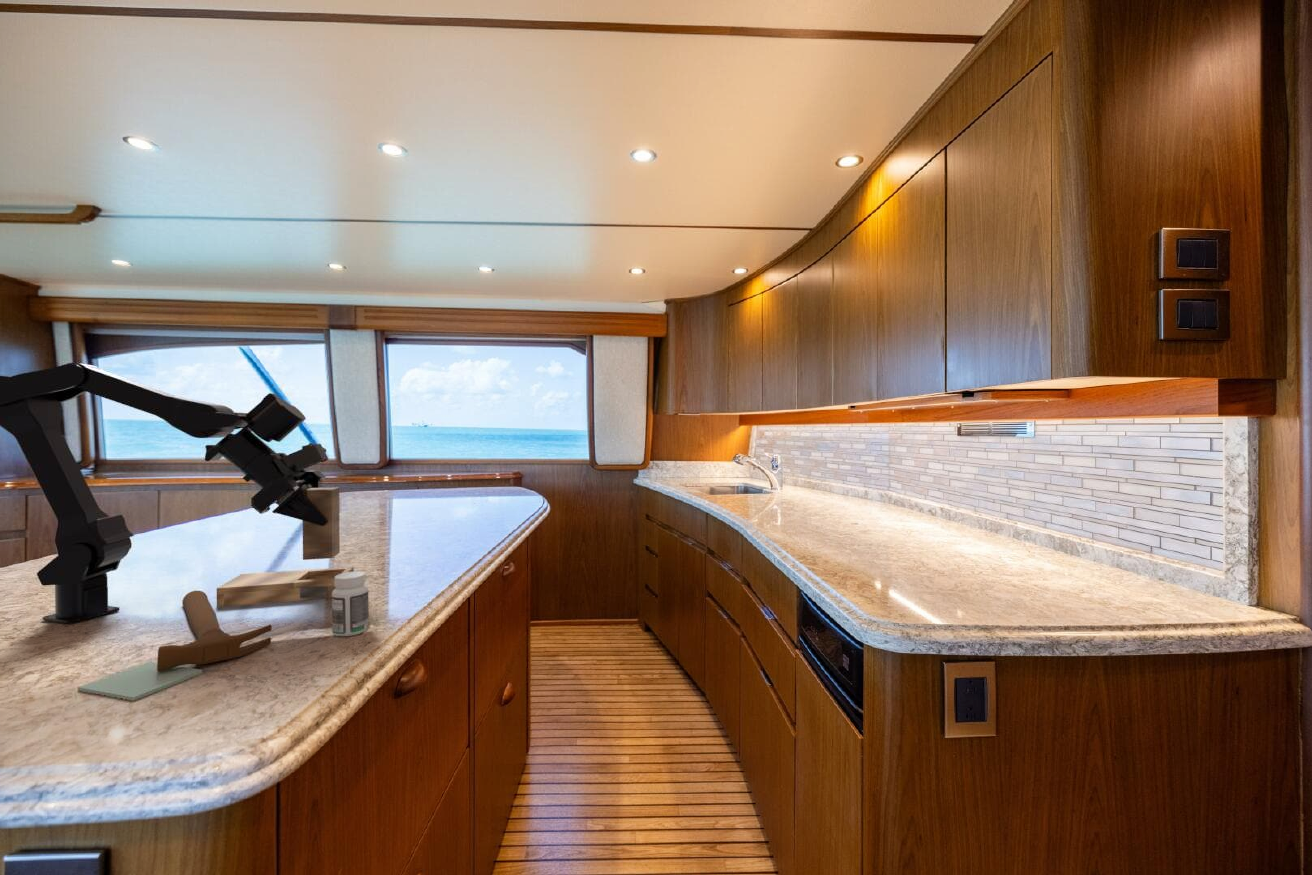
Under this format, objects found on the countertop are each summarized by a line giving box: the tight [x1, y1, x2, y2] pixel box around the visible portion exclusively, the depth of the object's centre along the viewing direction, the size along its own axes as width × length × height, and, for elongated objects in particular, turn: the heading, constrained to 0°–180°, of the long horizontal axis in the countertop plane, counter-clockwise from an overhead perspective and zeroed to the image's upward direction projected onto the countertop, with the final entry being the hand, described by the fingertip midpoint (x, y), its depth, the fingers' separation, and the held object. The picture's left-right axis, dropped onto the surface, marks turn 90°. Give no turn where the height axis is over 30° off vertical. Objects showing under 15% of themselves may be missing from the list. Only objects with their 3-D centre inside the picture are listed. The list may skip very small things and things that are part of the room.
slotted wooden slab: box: [216, 566, 355, 608], centre depth 94 cm, size 18×9×4 cm, turn 107°
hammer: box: [156, 590, 273, 672], centre depth 79 cm, size 12×3×30 cm
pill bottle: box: [331, 571, 370, 637], centre depth 79 cm, size 5×5×8 cm
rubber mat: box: [77, 661, 203, 702], centre depth 64 cm, size 9×7×1 cm
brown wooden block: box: [302, 486, 341, 561], centre depth 95 cm, size 4×4×12 cm
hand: (330, 521), depth 96 cm, fingers closed on brown wooden block, 4 cm apart
